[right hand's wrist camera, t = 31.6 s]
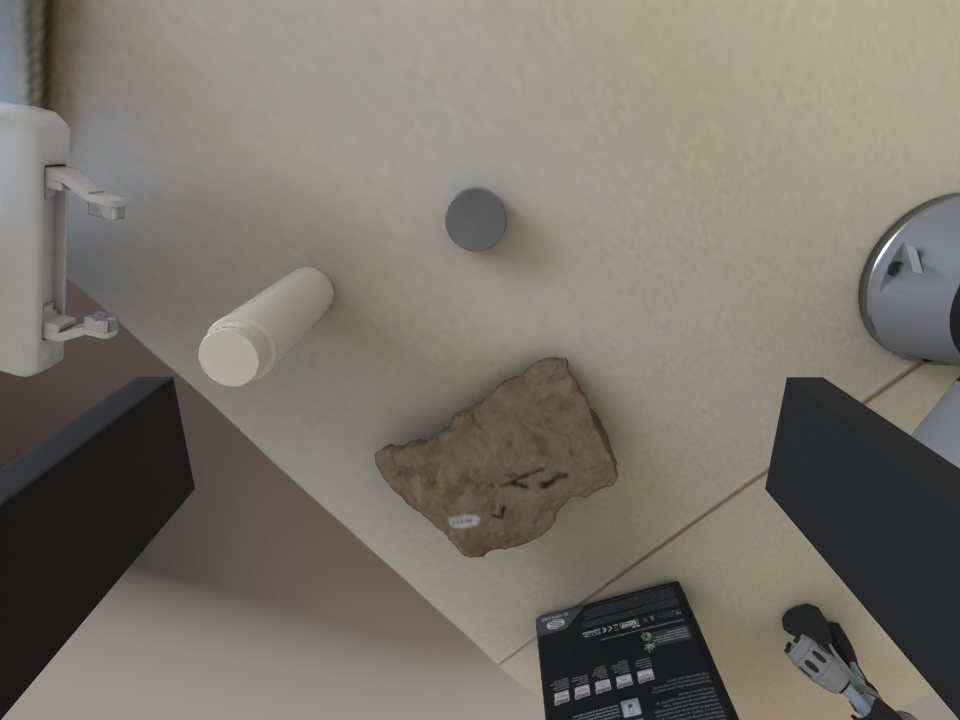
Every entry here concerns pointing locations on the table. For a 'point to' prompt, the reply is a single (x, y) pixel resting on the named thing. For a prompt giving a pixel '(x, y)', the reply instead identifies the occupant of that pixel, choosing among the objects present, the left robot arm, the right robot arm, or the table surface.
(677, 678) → the graphics card box
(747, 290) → the table surface
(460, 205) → the lid
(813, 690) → the table surface
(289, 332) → the cream cylindrical bottle
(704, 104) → the table surface
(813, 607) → the robot
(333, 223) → the table surface
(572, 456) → the stone
